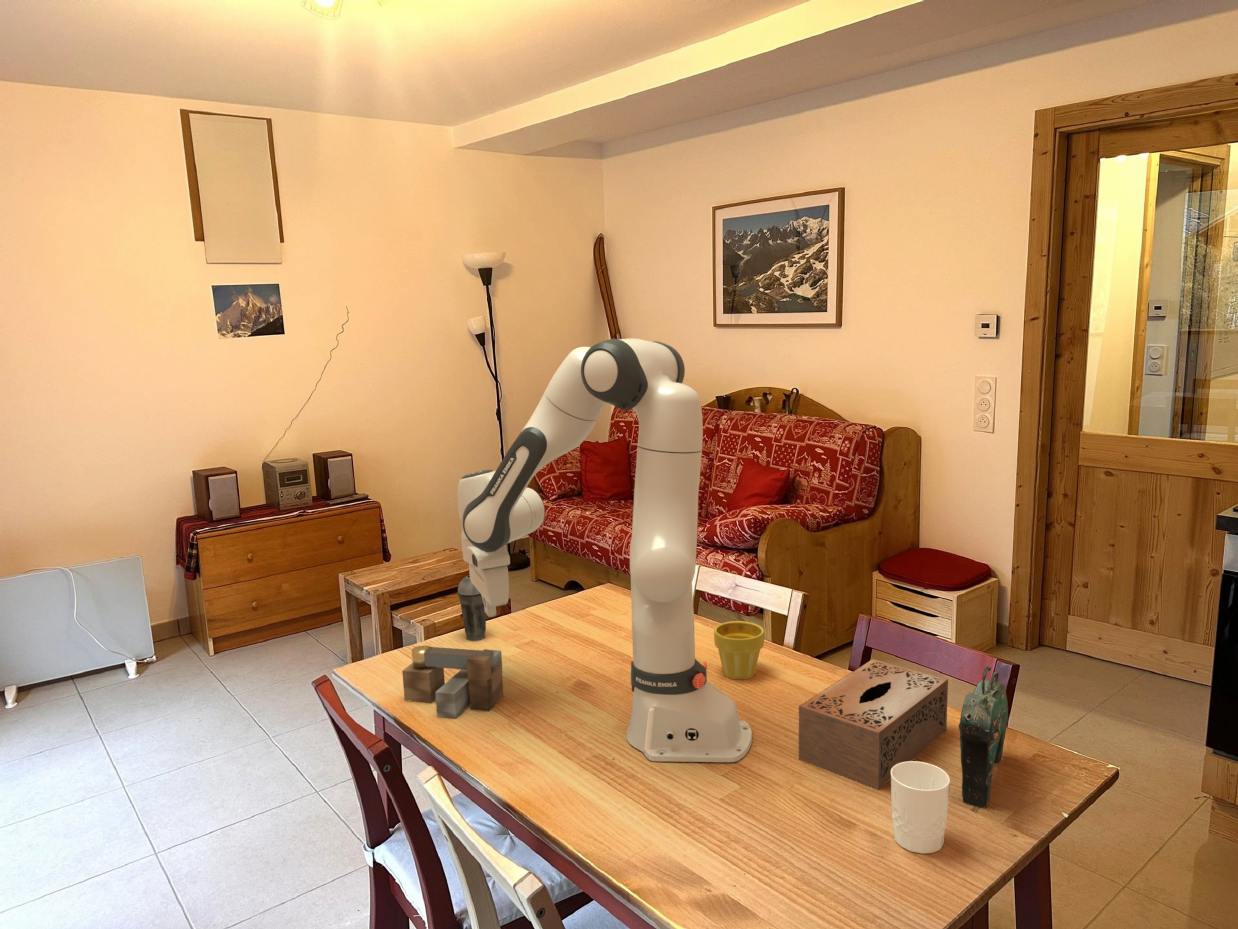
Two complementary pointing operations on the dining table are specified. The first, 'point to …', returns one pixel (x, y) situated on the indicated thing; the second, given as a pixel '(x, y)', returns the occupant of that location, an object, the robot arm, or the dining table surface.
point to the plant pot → (739, 647)
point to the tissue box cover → (872, 721)
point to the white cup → (919, 805)
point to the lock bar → (445, 657)
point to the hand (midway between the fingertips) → (490, 614)
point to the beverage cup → (472, 610)
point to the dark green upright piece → (982, 738)
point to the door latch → (457, 686)
